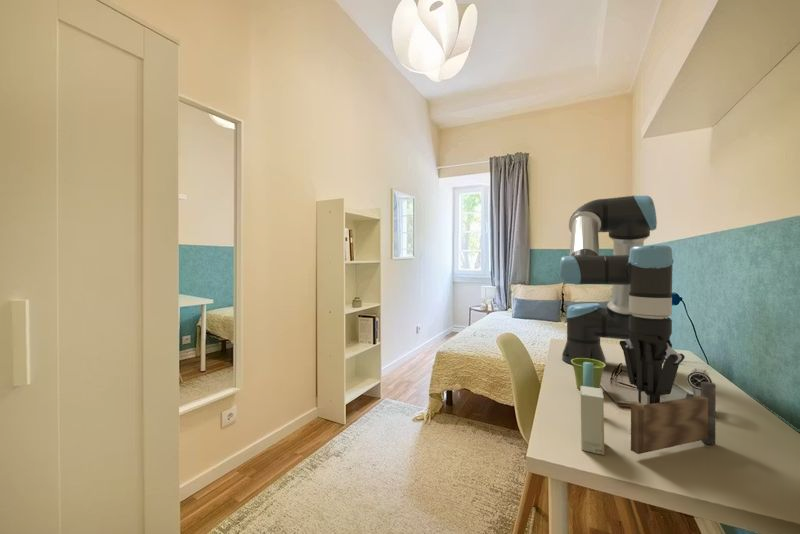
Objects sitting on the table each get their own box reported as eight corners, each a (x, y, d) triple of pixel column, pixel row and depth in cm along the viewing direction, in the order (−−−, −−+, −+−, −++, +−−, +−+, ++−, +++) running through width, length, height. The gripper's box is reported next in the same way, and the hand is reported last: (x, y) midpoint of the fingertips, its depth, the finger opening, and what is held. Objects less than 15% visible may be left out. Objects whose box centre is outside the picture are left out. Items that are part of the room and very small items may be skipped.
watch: (684, 411, 86) (684, 371, 86) (687, 402, 92) (687, 364, 92) (713, 418, 82) (714, 376, 82) (715, 408, 88) (715, 368, 88)
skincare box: (604, 456, 67) (604, 398, 67) (580, 450, 69) (580, 394, 69) (602, 441, 73) (602, 388, 73) (580, 436, 75) (580, 384, 75)
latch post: (584, 407, 89) (584, 361, 89) (594, 410, 88) (594, 363, 87) (582, 411, 87) (582, 363, 87) (592, 413, 86) (592, 365, 86)
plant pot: (604, 398, 95) (603, 369, 95) (568, 391, 101) (568, 363, 101) (606, 388, 103) (606, 361, 102) (573, 381, 108) (573, 356, 108)
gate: (705, 437, 73) (705, 381, 73) (718, 443, 71) (718, 385, 71) (628, 454, 67) (628, 393, 67) (640, 461, 65) (640, 397, 65)
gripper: (695, 319, 65) (694, 434, 66) (635, 310, 78) (635, 406, 79) (666, 321, 64) (665, 439, 64) (610, 311, 76) (609, 410, 77)
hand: (648, 421), depth 71 cm, fingers closed
